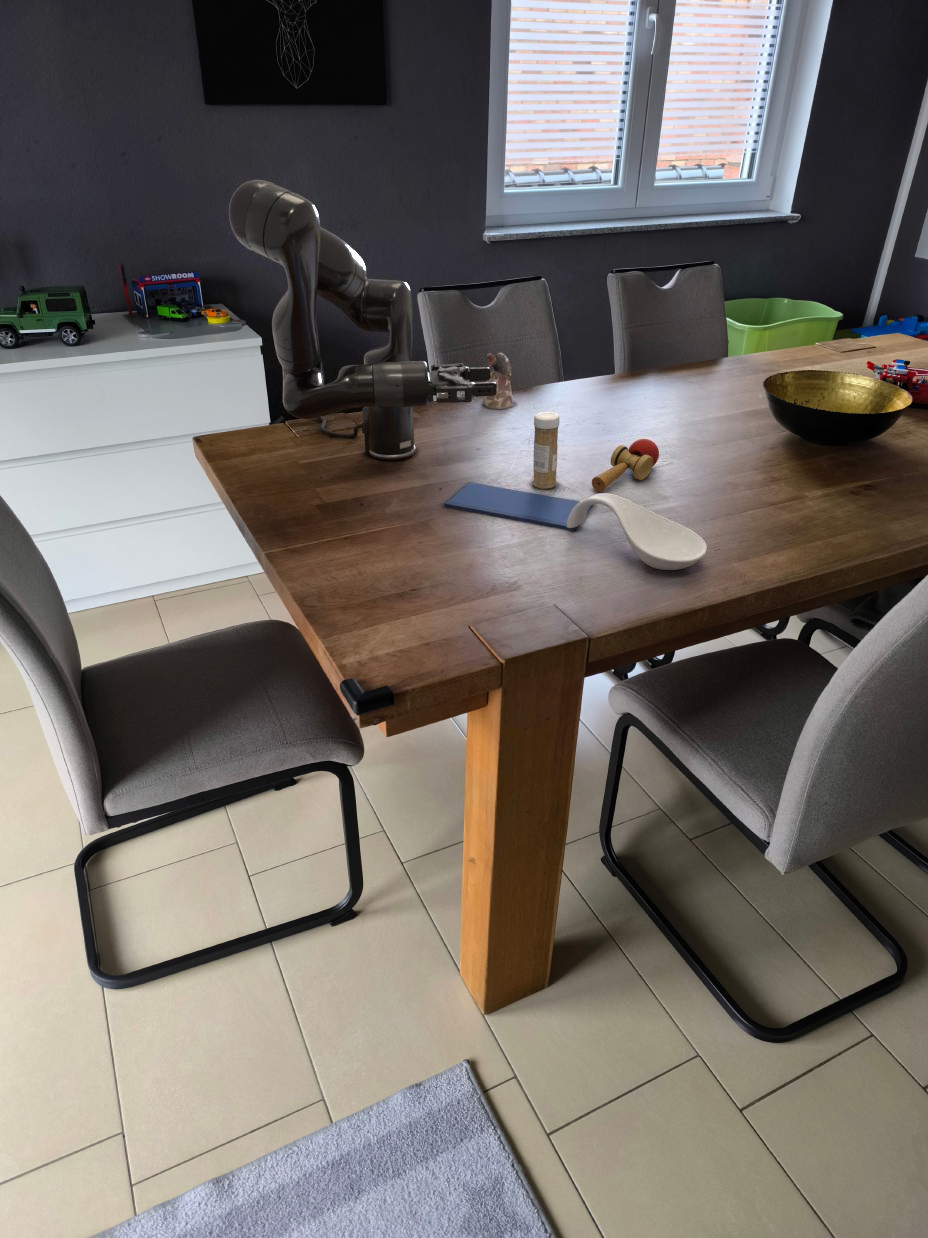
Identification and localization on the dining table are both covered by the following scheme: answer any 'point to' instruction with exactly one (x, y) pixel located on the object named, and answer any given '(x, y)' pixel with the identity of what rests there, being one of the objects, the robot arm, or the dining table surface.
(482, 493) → the blue flat rectangular slab
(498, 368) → the figurine
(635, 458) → the kendama
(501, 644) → the dining table surface
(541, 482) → the spice jar
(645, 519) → the spoon rest
